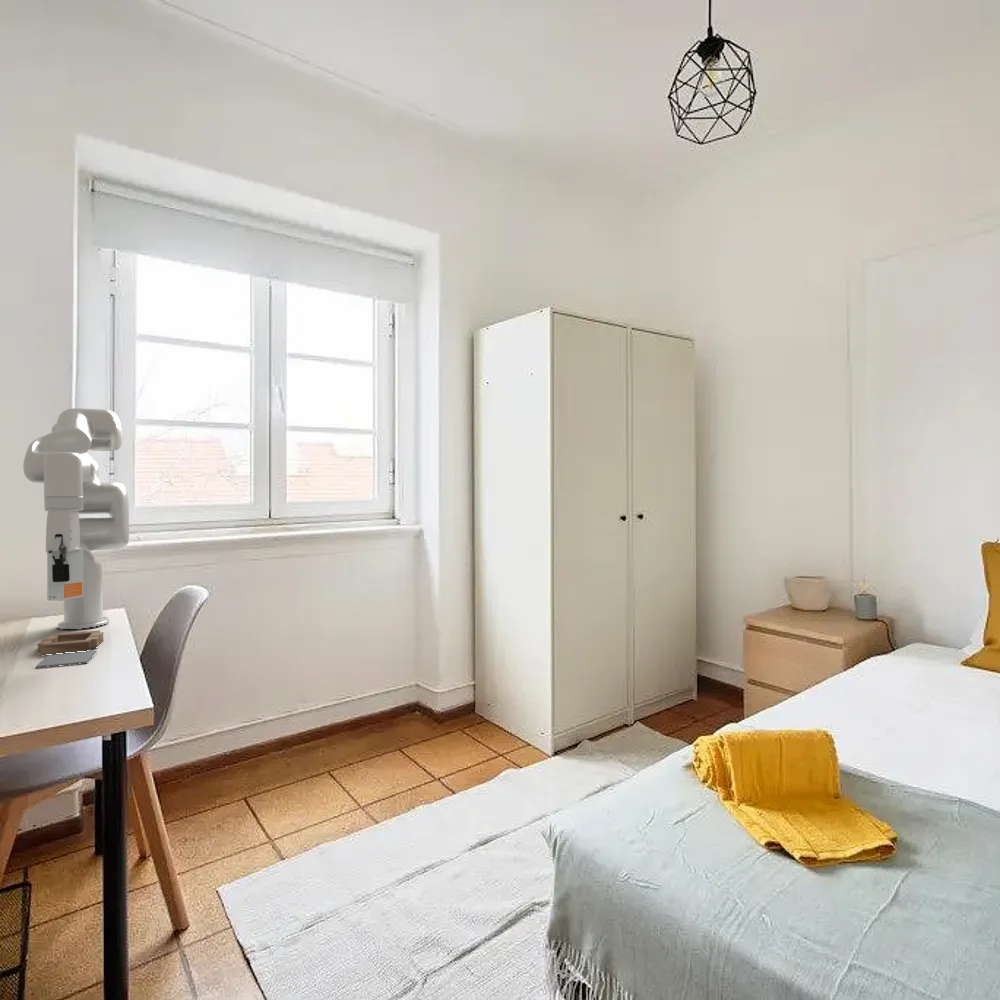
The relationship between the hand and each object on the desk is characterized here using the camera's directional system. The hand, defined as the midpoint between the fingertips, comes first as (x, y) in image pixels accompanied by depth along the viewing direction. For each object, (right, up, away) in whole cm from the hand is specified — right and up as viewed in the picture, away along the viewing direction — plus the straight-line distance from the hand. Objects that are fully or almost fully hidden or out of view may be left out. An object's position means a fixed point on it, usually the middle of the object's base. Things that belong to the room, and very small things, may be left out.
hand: (65, 578), depth 147 cm
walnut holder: (-7, -19, +12) cm, 23 cm away
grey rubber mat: (0, -20, +1) cm, 20 cm away
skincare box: (0, -5, 0) cm, 5 cm away
